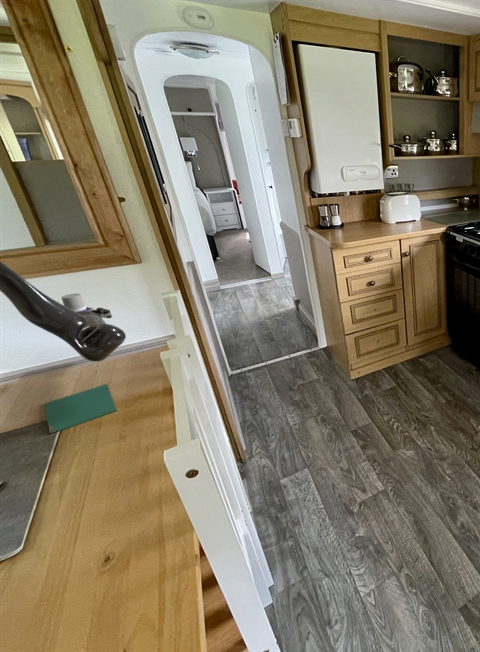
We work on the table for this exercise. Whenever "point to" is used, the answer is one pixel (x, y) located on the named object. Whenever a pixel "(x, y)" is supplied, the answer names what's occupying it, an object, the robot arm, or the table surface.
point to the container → (74, 302)
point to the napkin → (79, 408)
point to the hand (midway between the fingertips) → (76, 312)
